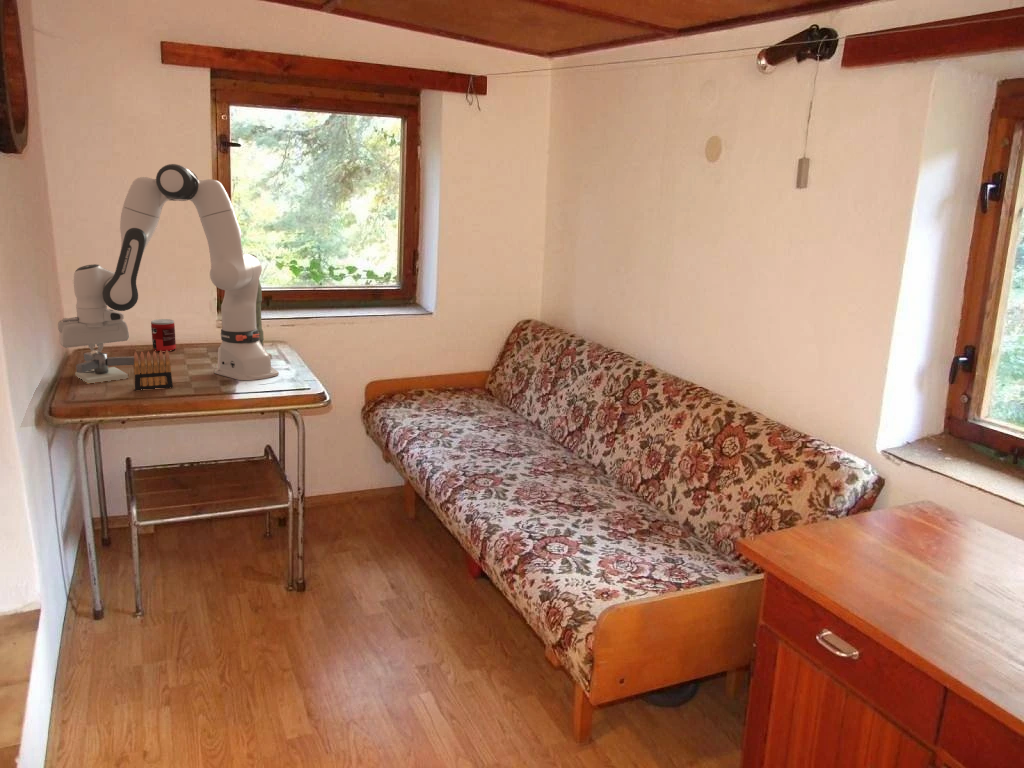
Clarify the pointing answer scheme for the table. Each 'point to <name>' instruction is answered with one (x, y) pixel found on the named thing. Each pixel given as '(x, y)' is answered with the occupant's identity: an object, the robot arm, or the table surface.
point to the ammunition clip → (152, 371)
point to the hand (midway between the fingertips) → (97, 357)
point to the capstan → (101, 362)
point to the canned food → (163, 334)
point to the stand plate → (102, 375)
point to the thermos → (259, 312)
